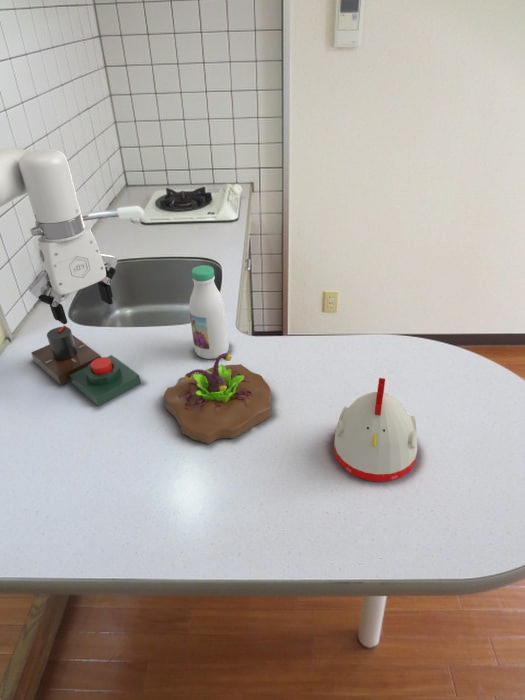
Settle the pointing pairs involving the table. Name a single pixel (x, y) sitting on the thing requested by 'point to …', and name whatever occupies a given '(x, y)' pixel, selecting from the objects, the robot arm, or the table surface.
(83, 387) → the button box
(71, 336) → the lock knob
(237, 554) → the table surface
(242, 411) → the plant
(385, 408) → the kitchen timer
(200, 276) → the milk bottle
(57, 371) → the panel
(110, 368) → the button
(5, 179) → the robot arm
